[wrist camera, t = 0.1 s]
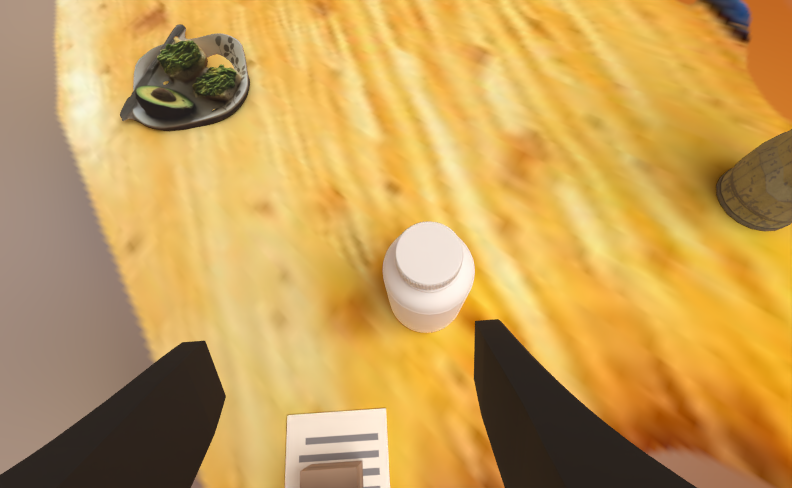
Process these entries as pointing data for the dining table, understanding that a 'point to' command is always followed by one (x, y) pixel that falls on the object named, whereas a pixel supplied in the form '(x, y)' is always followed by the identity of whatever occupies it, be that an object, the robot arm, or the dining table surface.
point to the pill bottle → (427, 276)
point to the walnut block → (333, 475)
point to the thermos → (760, 186)
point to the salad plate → (187, 83)
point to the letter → (339, 443)
